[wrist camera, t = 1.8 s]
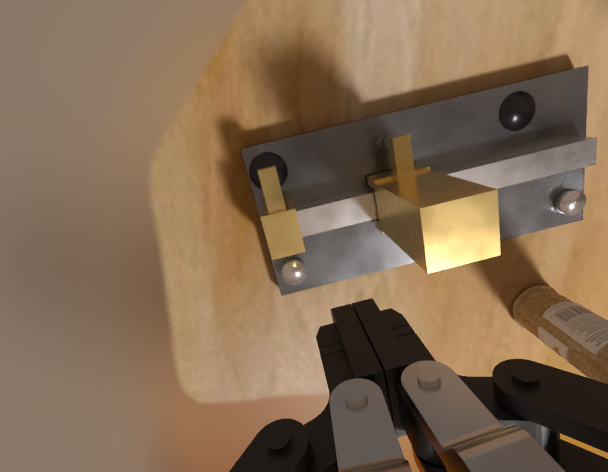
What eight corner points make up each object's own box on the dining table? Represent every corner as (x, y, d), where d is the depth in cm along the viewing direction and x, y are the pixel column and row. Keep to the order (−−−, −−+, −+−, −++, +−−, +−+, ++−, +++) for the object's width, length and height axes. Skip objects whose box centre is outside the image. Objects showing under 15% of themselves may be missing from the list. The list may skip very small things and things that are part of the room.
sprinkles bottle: (505, 326, 34) (652, 451, 21) (515, 283, 32) (679, 388, 19) (549, 325, 34) (719, 445, 21) (561, 282, 33) (750, 384, 20)
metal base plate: (574, 68, 27) (598, 63, 25) (570, 216, 31) (590, 222, 29) (241, 147, 26) (240, 150, 24) (280, 289, 30) (281, 300, 28)
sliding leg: (414, 128, 25) (495, 131, 16) (424, 214, 28) (500, 258, 19) (360, 141, 25) (412, 151, 16) (375, 226, 27) (428, 277, 18)
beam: (581, 87, 26) (619, 83, 23) (578, 169, 28) (613, 174, 25) (250, 167, 25) (248, 173, 23) (271, 245, 27) (272, 260, 25)
